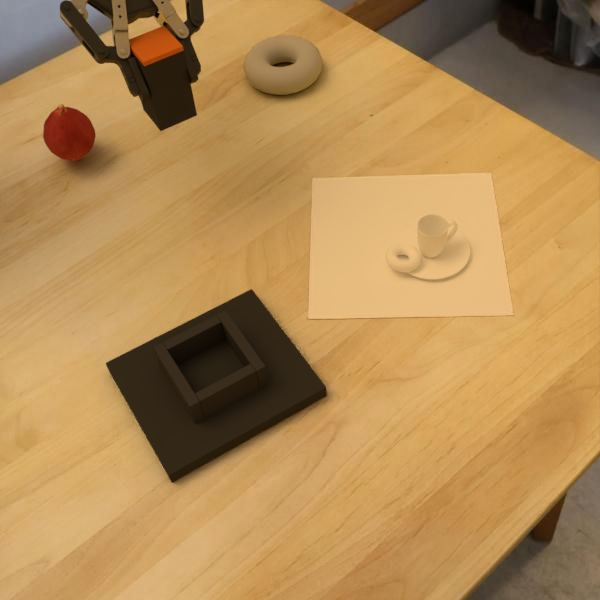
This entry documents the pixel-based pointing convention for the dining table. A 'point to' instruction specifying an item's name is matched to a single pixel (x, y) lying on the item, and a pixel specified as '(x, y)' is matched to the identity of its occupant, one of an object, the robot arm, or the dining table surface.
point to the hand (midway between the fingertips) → (169, 89)
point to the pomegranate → (68, 133)
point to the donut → (283, 77)
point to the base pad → (214, 383)
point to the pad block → (164, 77)
